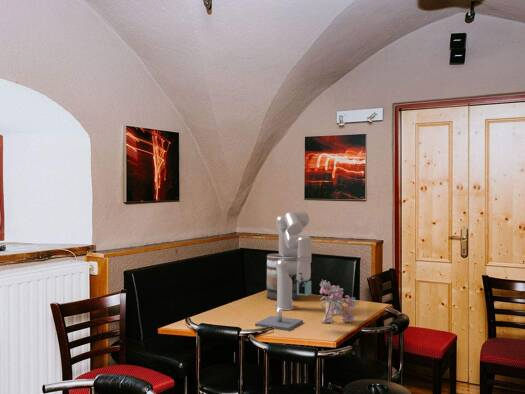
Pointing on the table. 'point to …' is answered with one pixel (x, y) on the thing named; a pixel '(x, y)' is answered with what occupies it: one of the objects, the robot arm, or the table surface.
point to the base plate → (279, 323)
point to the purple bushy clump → (328, 306)
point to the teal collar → (307, 288)
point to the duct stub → (279, 315)
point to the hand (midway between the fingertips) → (304, 292)
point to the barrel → (273, 277)
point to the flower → (336, 302)
